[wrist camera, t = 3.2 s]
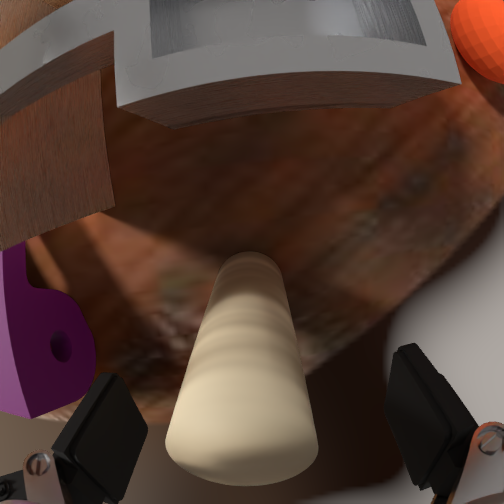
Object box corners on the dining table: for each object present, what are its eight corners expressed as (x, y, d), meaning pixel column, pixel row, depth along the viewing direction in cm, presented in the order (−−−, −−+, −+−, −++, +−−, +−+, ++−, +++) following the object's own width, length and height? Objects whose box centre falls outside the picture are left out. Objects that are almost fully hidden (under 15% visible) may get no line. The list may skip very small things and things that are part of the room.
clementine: (430, -10, 11) (477, -47, 4) (492, 31, 11) (542, 13, 4) (432, 63, 13) (498, 34, 6) (496, 105, 13) (560, 99, 7)
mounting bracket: (19, 208, 22) (37, 385, 19) (-39, 185, 14) (-27, 401, 11) (80, 176, 21) (105, 388, 18) (15, 136, 13) (31, 419, 10)
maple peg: (211, 256, 17) (142, 409, 6) (278, 247, 17) (319, 401, 5) (223, 315, 18) (190, 484, 7) (285, 307, 18) (316, 478, 6)
